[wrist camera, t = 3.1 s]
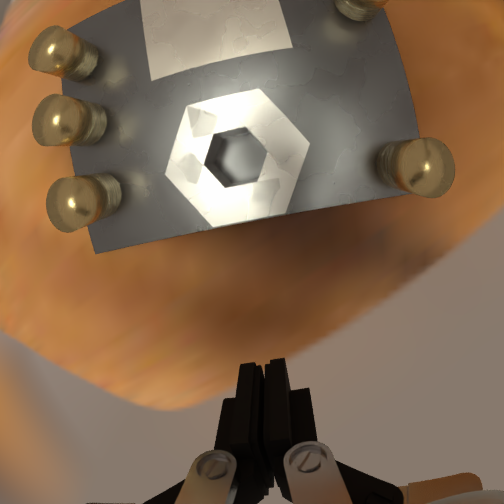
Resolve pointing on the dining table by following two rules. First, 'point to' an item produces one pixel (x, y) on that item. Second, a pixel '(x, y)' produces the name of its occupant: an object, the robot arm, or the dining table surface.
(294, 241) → the dining table surface
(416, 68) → the dining table surface
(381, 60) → the jig plate
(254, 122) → the steel nut
